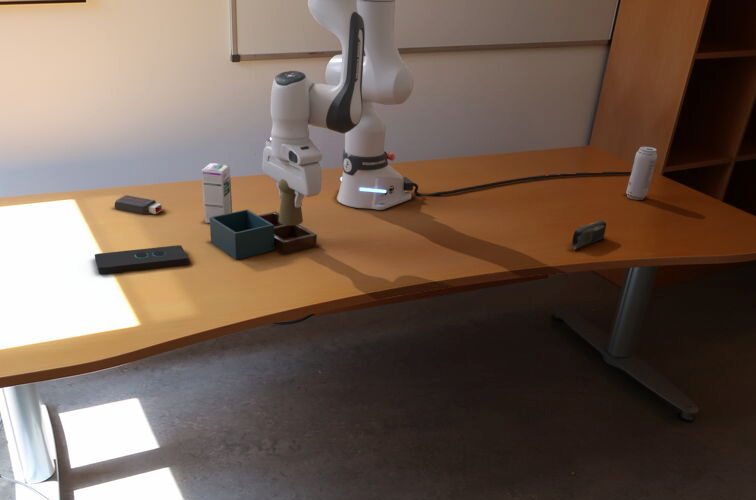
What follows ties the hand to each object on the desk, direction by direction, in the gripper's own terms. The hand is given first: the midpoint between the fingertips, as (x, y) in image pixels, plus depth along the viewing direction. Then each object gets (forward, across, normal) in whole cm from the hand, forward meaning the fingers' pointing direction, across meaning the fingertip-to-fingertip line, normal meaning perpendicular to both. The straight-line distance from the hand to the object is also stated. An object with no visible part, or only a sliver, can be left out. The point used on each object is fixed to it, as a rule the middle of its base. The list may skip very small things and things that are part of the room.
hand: (290, 202), depth 181 cm
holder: (+10, -4, -1) cm, 11 cm away
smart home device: (+10, -8, -36) cm, 38 cm away
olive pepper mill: (+5, 0, 0) cm, 5 cm away
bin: (+10, -4, -12) cm, 16 cm away
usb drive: (+10, -40, -22) cm, 47 cm away
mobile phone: (+12, +41, +66) cm, 78 cm away
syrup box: (+11, -22, -8) cm, 26 cm away
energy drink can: (+12, +26, +111) cm, 114 cm away
